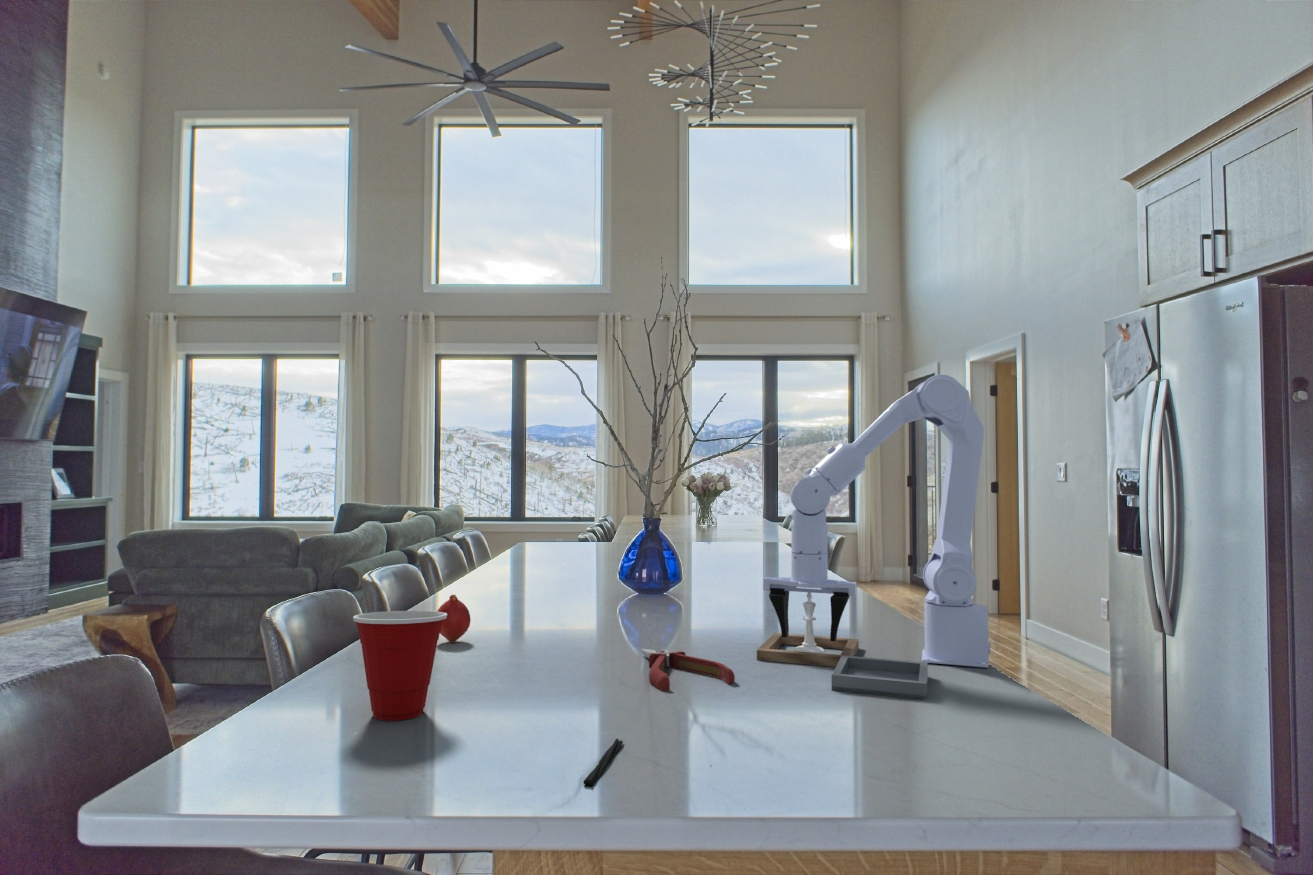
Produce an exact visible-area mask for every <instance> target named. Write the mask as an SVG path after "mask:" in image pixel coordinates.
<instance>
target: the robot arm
mask: <svg viewBox="0 0 1313 875" xmlns="http://www.w3.org/2000/svg"><path fill="white" fill-rule="evenodd" d="M921 419H923V420H926V421H927V422H930V423H931V424H933V425H935V427H936V428H938V429H939V431H940V432H941V433H942V434H943V435H944V437H946V439H948V445H947V446H948V448H947V455H946V462H945V463H946V464H945V468H944V469H945V470H944V476H943V477H944V478H943V485H942V486H943V487H942V494H941V501H940V511H939V517H938V525H937V526H938V527H937V534H936V539H935V541H934V543H933V545H932V548H931V555H930V558H929V559H928V561H927V563H925V566H924V568H923V569H922V570H923V571H922V578H923V583H924V585H925V586H926V587H927V589H928V590H929V591H928V592H927V594H926V596H924V648H923V649H922V654H921V662H926V663H928V664H938V665H939V664H940V665H950V666H951V665H952V666H962V667H963V666H964V667H973V668H975V667H977V668H985V669H986V668H989V667H990V663H989V662H990V661H989V655H991V642H990V641H989V612H988V605H986V604H977V603H975V600H974V598H972V597H973V596H974V594H975V592H976V589H977V578H976V575H975V572H974V570H973V561H974V555H973V551H972V546H971V545H972V544H971V539H972V532H973V525H974V517H975V515H974V514H975V509H976V508H975V507H976V499H977V493H978V492H977V491H978V483H979V475H980V468H981V461H982V460H981V459H982V454H983V453H982V451H983V445H984V436H985V429H984V426H983V424H982V421H981V419H980V417H979V416H978V414H977V411H976V409H975V406H974V404H973V403H972V400H971V398H970V392H969V390H968V389H967V388H966V387H964V386H963V385H962V383H960V382H959V381H958V380H957V379H956V378H954V377H952V376H950V375H947V374H936V375H933V376H931V377H928V378H927V379H926V380H925V381H923V382H921V383H919V384H918V385H917V386H915V388H914V389H912V390H911V391H909V392H907V393H906V394H904V395H903V396H901V397H900V398H898V399H897V400H895V401H894V402H893V403H891V404H890V405H889V406H888V407H887V408H886V409H885V410H884V411H883V412H882V413H881V414H880V415H879V416H878V417H877V418H876V419H875V420H874V421H873V422H872V423H871V424H870V425H869V426H867V428H866V429H865V430H864V431H863V432H862V433H861V434H860V435H859V436H858V437H856V439H855V440H854V441H853V442H850V443H846V442H840V443H838V444H837V445H836V446H834V445H831V446H830V447H829V448H828V449H827V450H826V453H827V455H825V457H823V458H822V459H821V460H820V461H819V462H818V463H817V464H816V465H815V466H813V468H810V467H808V469H807V470H805V471H804V473H805V474H806V475H807V477H803V478H800V479H799V480H798V481H797V482H796V483H795V484H794V485H793V488H792V490H791V493H790V501H791V503H792V505H793V507H794V508H793V511H792V513H791V517H792V518H791V519H792V520H793V521H792V523H791V537H790V538H791V542H790V543H791V546H790V548H791V551H790V552H791V555H790V556H791V563H790V564H791V565H790V566H791V569H790V570H791V571H790V573H791V574H790V575H791V577H783V576H781V577H778V576H777V577H775V576H773V577H772V576H771V577H770V576H765V577H764V578H763V585H762V586H763V588H762V589H763V591H770V592H769V593H768V598H769V600H770V602H771V604H772V606H773V608H774V611H775V613H776V617H777V618H778V622H779V626H780V631H781V632H780V633H782V637H787V636H788V634H790V633H789V631H790V630H789V629H790V628H789V603H790V602H789V600H790V592H798V593H799V592H800V593H808V592H811V594H813V593H814V594H831V596H830V615H831V619H830V620H831V623H830V624H831V625H830V635H829V637H830V639H831V641H836V639H837V638H838V632H839V631H838V630H839V626H840V622H841V619H842V617H843V616H842V615H843V613H844V612H845V608H846V606H847V603H848V601H849V599H850V598H851V597H850V596H853V597H856V596H857V582H856V581H846V580H837V579H836V580H835V579H829V578H828V575H829V574H828V571H829V569H828V568H829V567H828V565H829V564H828V563H829V562H828V557H829V556H828V554H829V552H828V551H829V550H828V546H829V545H828V541H829V539H828V538H829V536H828V535H829V534H828V532H829V531H828V523H827V508H828V506H829V505H830V504H829V503H830V501H831V497H832V496H838V495H839V494H840V493H841V492H842V491H844V489H845V488H846V487H847V486H848V485H849V484H851V483H852V482H853V481H854V480H855V479H856V478H857V477H858V476H859V475H860V474H862V473H863V472H864V471H865V469H866V458H867V457H868V456H869V455H870V454H871V453H872V452H873V451H874V450H876V448H878V447H880V445H881V444H883V443H884V441H886V440H887V439H889V438H890V436H891V435H892V434H894V433H895V432H896V431H897V430H898V429H899V428H901V427H902V426H903V425H906V424H909V423H911V422H915V421H918V420H921ZM982 662H983V663H985V664H983V663H982ZM986 664H987V665H989V666H987V665H986Z"/></svg>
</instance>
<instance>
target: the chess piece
mask: <svg viewBox="0 0 1313 875" xmlns="http://www.w3.org/2000/svg"><path fill="white" fill-rule="evenodd" d="M806 598H807V601H804V602H803V603H802V606H803V608H804V612H805V616H803V617H802V620H803V621H805V633H804V635H805V639H804V642H803V643H802V644H803V645H802V646H798V645H797V646H796V647H794V649H793V651H801V652H812V653H824V654H826V653H825V651H826V650H825V649H824V648H823V647H818V646H816V645H817V644H816V643H815V640H814V636H815V634H814V626H813V622H814V621H816V620H817V618H816V617H815V616H814V615H813V614H814V612H815V608H816V605H817V604H816V602H814V601H812V599H813V596H812V592H807V593H806Z"/></svg>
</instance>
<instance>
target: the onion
mask: <svg viewBox="0 0 1313 875" xmlns="http://www.w3.org/2000/svg"><path fill="white" fill-rule="evenodd" d="M448 598H449V599H448V600H446V601H445V602H444V603H442V604H441V605H440V606H439V608H438V609H437V611H436V612H443V613H447V617H446V619H444V622H443V625H442V627H441V631H440V634H439V635H441V636H442V637H443V638H444V639H446V640H447V641H448V642H450V643H455V642H457V641H458V640H459V639H460V638H461V637H463V636H464V635H465V634H466V633H467V631H468V630H469V628H470V627H471V621H472V620H471V614H470V610H469V609H468V607H467V606H466V605H465V603H464V602H463V601H461V600H459V598H458V597H457V595H456V594H450V596H449V597H448Z"/></svg>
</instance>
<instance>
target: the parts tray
mask: <svg viewBox="0 0 1313 875" xmlns="http://www.w3.org/2000/svg"><path fill="white" fill-rule="evenodd" d="M928 668H929V663H926V662H922V661H913V660H912V661H911V660H901V659H890V658H889V659H887V658H877V657H866V656H856V655H855V656H843V655H842V656H841V658H840V660H839V662H838V664H837V666H836V667H834V669H833V671H832V673H831V691H837V692H849V693H858V694H868V695H876V696H878V695H879V696H887V697H888V696H889V697H898V698H907V699H919V700H927V698H928V683H929V682H928V680H929V674H928V673H929V669H928Z"/></svg>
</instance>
